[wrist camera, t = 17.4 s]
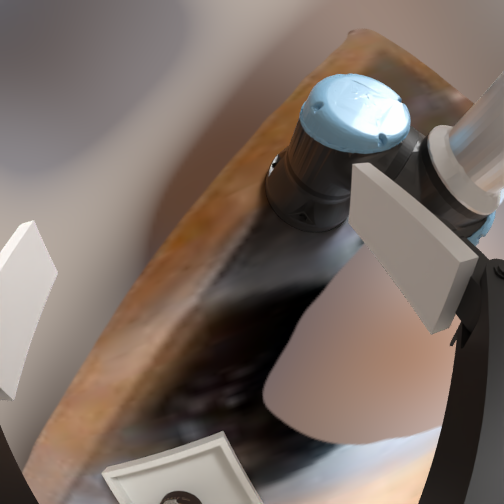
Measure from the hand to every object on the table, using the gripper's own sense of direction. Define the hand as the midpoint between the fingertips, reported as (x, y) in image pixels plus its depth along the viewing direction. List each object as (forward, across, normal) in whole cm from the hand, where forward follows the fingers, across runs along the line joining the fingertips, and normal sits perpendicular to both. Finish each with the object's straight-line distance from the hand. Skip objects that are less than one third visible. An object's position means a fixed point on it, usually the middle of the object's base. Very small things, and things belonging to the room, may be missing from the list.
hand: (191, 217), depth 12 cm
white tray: (-1, -11, -46) cm, 48 cm away
